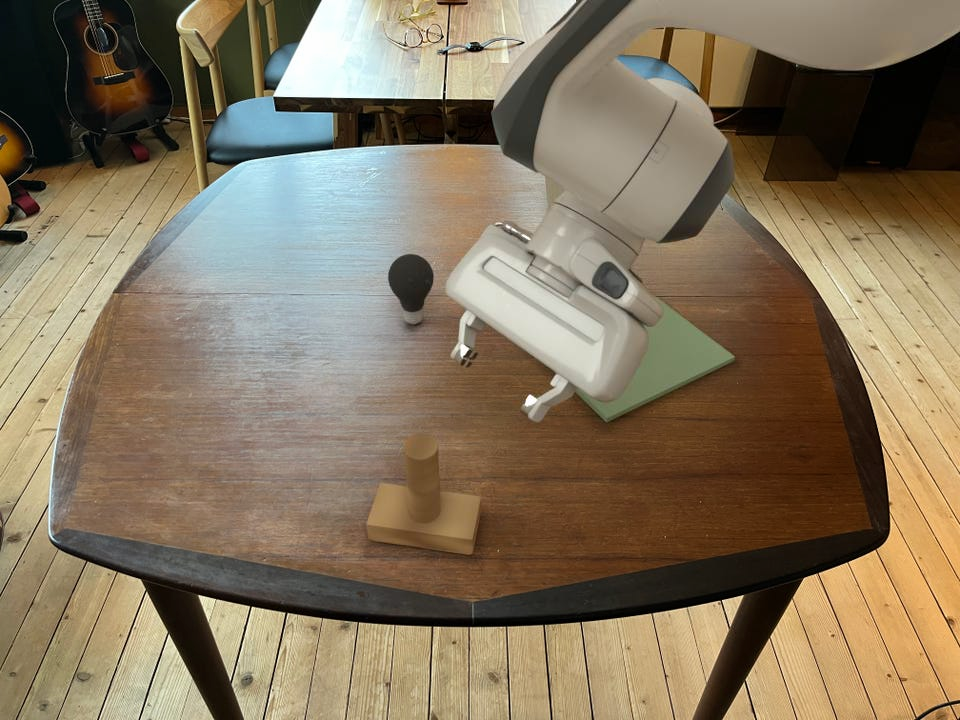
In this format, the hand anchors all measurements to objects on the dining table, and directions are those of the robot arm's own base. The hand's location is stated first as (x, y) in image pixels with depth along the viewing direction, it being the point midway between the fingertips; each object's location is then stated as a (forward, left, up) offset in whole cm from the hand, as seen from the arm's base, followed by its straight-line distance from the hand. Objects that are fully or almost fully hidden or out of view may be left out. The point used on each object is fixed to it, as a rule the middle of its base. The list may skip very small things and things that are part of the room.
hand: (492, 389), depth 66 cm
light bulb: (+28, -6, -14) cm, 31 cm away
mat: (+13, -26, -13) cm, 32 cm away
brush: (-1, +8, -13) cm, 16 cm away
